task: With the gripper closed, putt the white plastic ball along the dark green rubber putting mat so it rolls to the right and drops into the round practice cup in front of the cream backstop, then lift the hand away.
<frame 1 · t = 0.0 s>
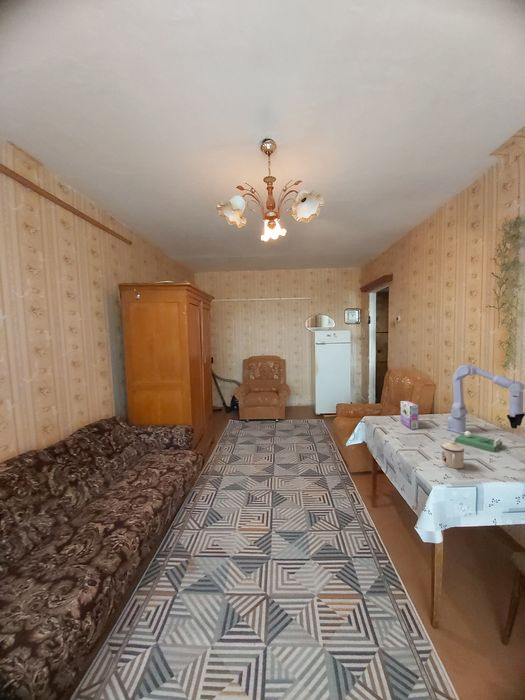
hand: (515, 426, 155), 10 cm above the table, fingers open, 7 cm apart
green: (478, 443, 158), on the table
candy box: (409, 426, 191), on the table
teacup with lid: (452, 466, 133), on the table
ball: (468, 434, 162), point 4 cm above the table, touching green
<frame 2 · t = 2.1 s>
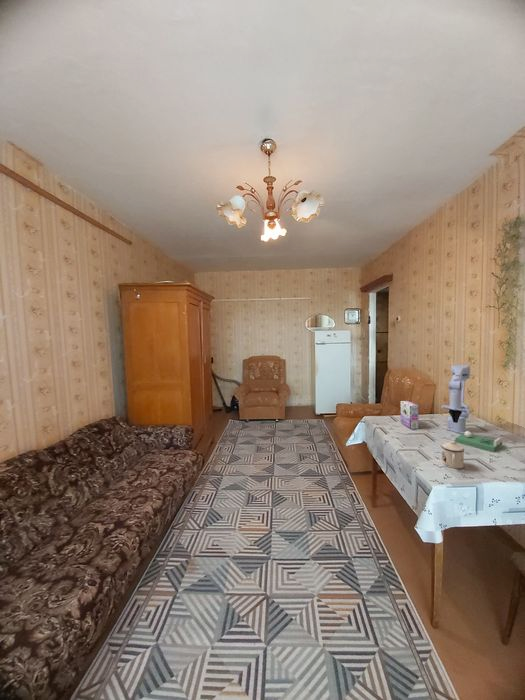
hand: (455, 422, 167), 10 cm above the table, fingers closed
nothing on the table moved.
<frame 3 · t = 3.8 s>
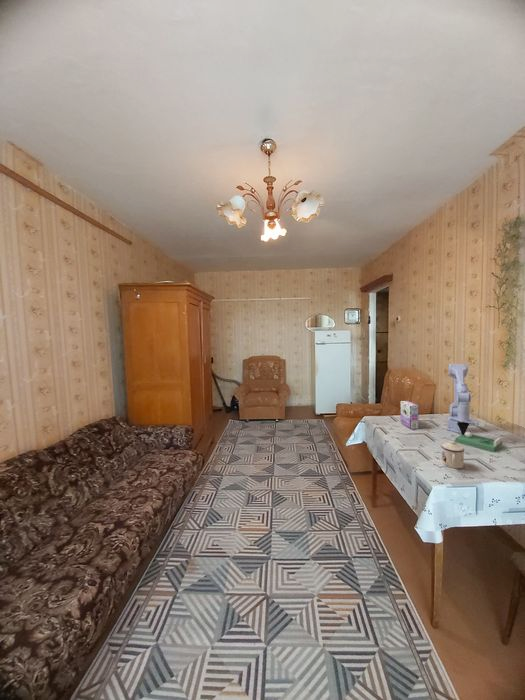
hand: (463, 434, 164), 3 cm above the table, fingers closed, pressing on ball
ball: (468, 434, 162), point 4 cm above the table, touching green, gripper
everything else where it was.
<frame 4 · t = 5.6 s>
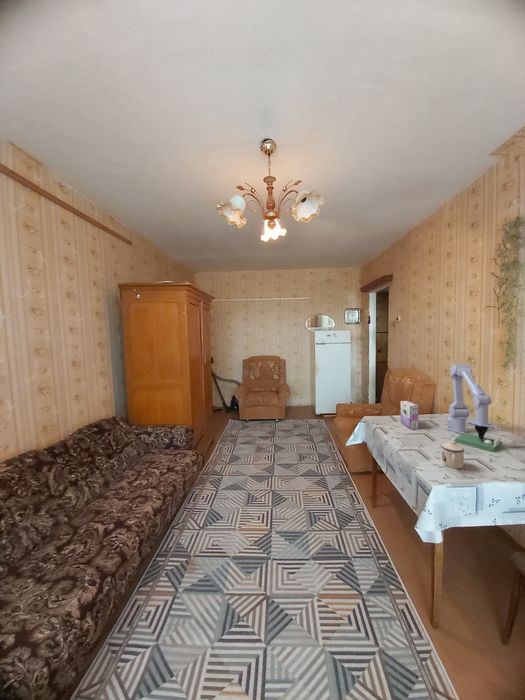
hand: (481, 438, 156), 3 cm above the table, fingers closed
ball: (488, 442, 154), point 2 cm above the table, tilted 54°
everything else where it was.
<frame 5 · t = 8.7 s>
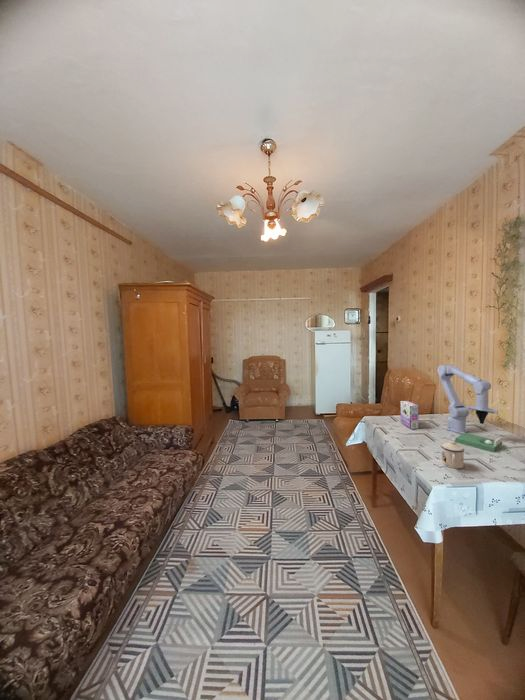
hand: (481, 423, 163), 10 cm above the table, fingers closed
ball: (488, 443, 154), point 2 cm above the table, tilted 42°
everything else where it was.
at the end: ball 0.2 cm from the target spot on the green, point 1.8 cm above the green's base; ball touching table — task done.
